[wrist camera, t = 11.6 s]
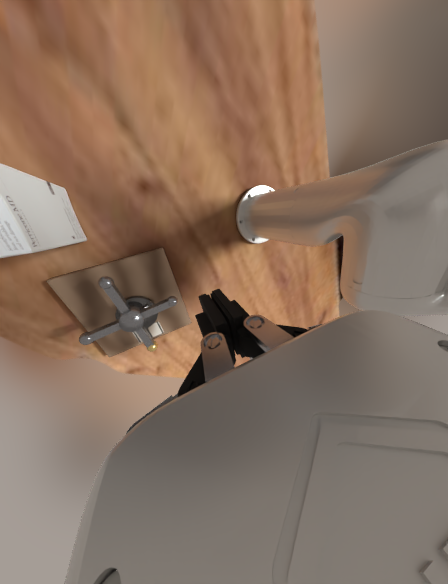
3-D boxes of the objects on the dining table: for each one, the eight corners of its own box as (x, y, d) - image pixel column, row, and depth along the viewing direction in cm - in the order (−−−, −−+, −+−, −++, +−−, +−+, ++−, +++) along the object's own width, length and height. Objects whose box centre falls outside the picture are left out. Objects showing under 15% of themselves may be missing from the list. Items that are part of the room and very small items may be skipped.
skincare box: (88, 240, 28) (41, 257, 16) (45, 245, 27) (-46, 269, 14) (63, 184, 25) (-24, 150, 12) (11, 185, 23) (-154, 146, 10)
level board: (162, 247, 34) (163, 248, 32) (190, 320, 43) (191, 323, 42) (50, 278, 28) (45, 281, 27) (110, 352, 38) (109, 358, 37)
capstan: (53, 288, 28) (31, 304, 23) (156, 252, 32) (157, 259, 27) (115, 354, 37) (109, 376, 32) (188, 319, 41) (194, 334, 36)
